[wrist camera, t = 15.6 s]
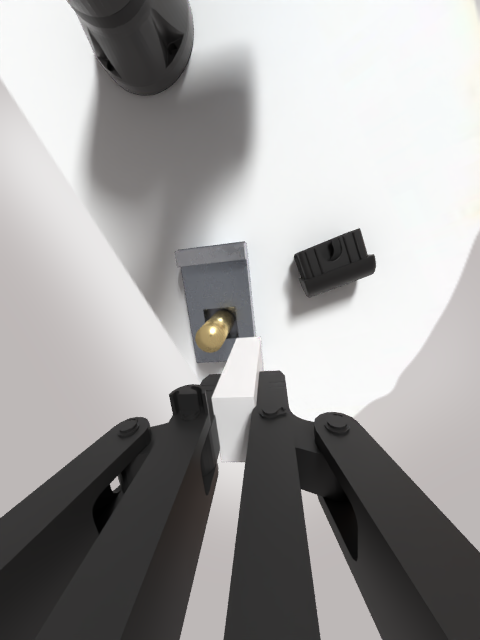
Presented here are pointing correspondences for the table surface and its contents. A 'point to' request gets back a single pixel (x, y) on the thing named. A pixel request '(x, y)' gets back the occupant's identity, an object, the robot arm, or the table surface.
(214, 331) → the brass cylinder rod
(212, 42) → the table surface
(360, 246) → the end cap
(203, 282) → the jig
